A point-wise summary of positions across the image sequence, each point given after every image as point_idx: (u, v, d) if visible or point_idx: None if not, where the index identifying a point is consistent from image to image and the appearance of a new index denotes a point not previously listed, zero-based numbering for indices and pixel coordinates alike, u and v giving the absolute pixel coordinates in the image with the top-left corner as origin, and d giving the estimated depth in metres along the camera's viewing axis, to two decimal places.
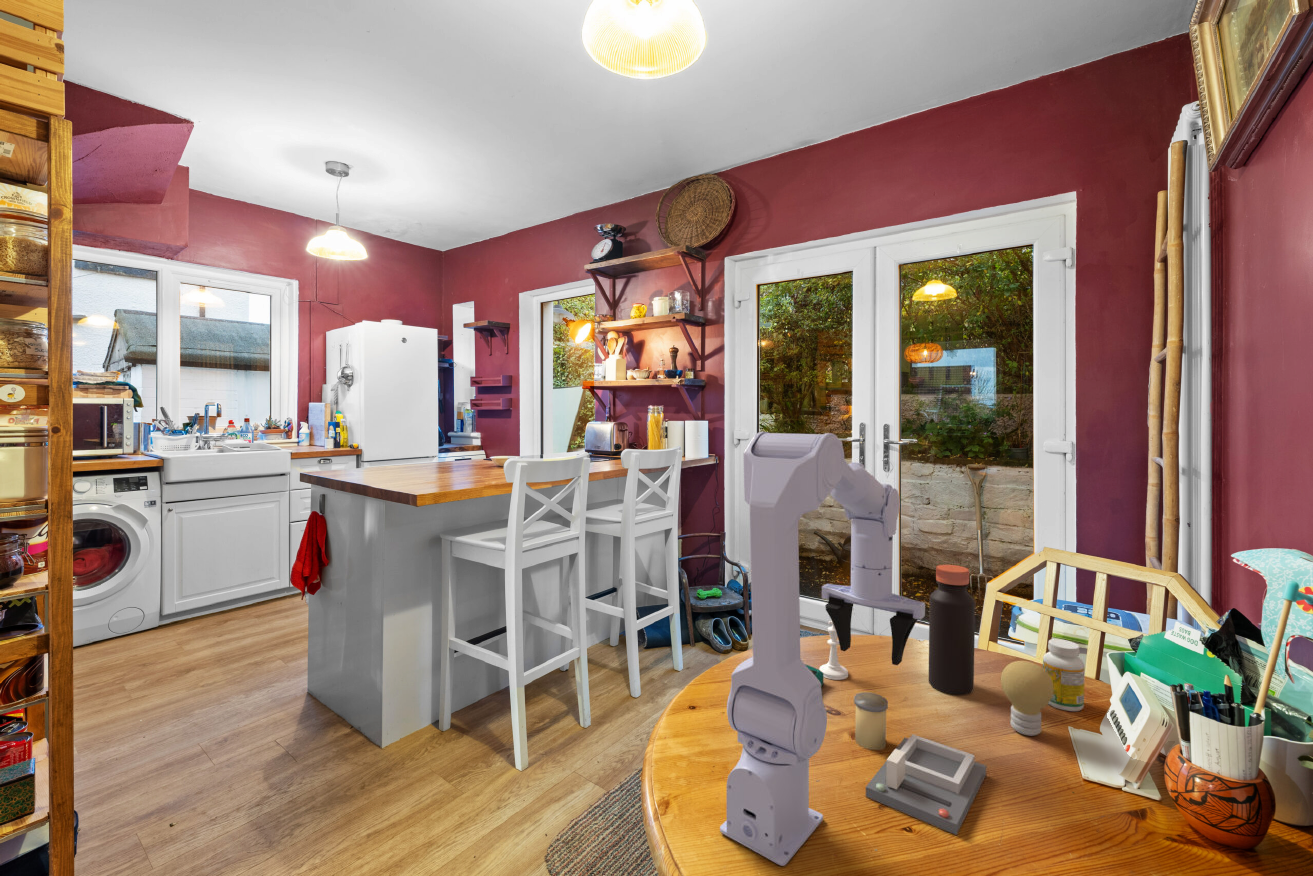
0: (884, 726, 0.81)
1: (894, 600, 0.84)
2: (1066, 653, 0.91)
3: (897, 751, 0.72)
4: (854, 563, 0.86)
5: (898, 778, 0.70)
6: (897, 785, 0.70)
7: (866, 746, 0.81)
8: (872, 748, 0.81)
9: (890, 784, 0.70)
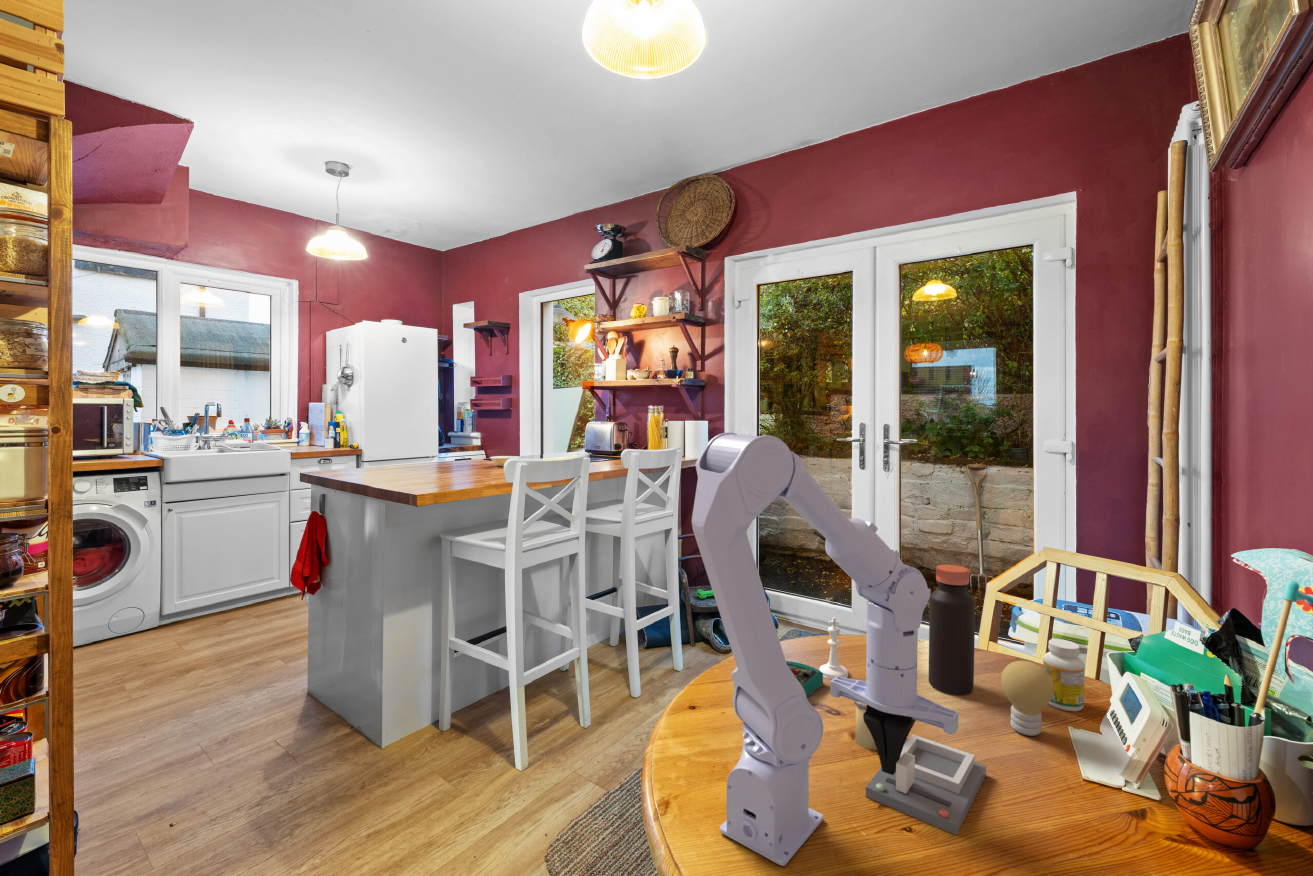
0: None
1: (920, 706, 0.69)
2: (1066, 653, 0.91)
3: (907, 754, 0.72)
4: (866, 654, 0.72)
5: (908, 782, 0.70)
6: (906, 789, 0.69)
7: (866, 746, 0.81)
8: (872, 748, 0.81)
9: (899, 788, 0.70)
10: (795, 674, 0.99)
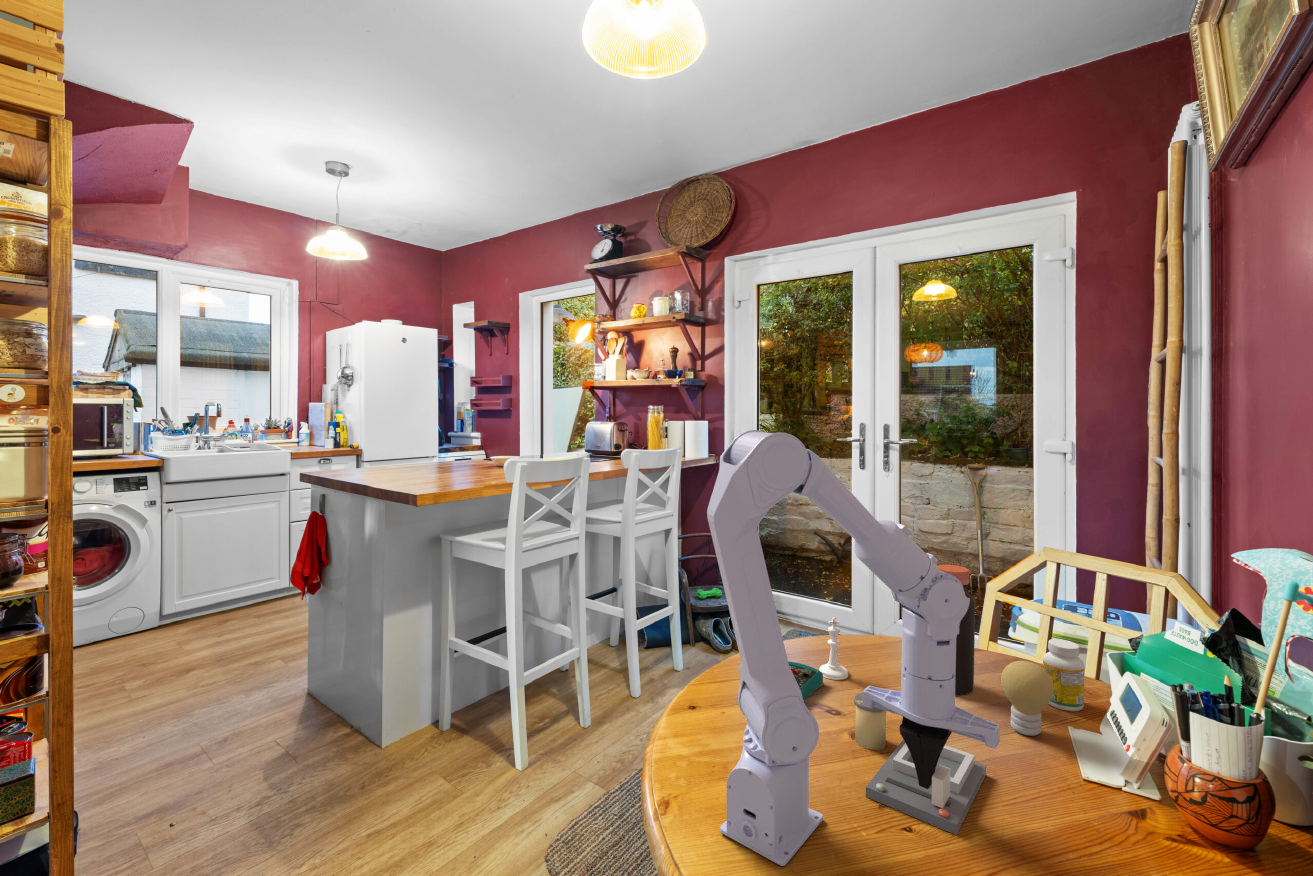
0: (884, 726, 0.81)
1: (959, 718, 0.66)
2: (1066, 653, 0.91)
3: (942, 767, 0.69)
4: None
5: (944, 796, 0.67)
6: (943, 803, 0.67)
7: (866, 746, 0.81)
8: (872, 748, 0.81)
9: (935, 802, 0.67)
10: (795, 674, 0.99)
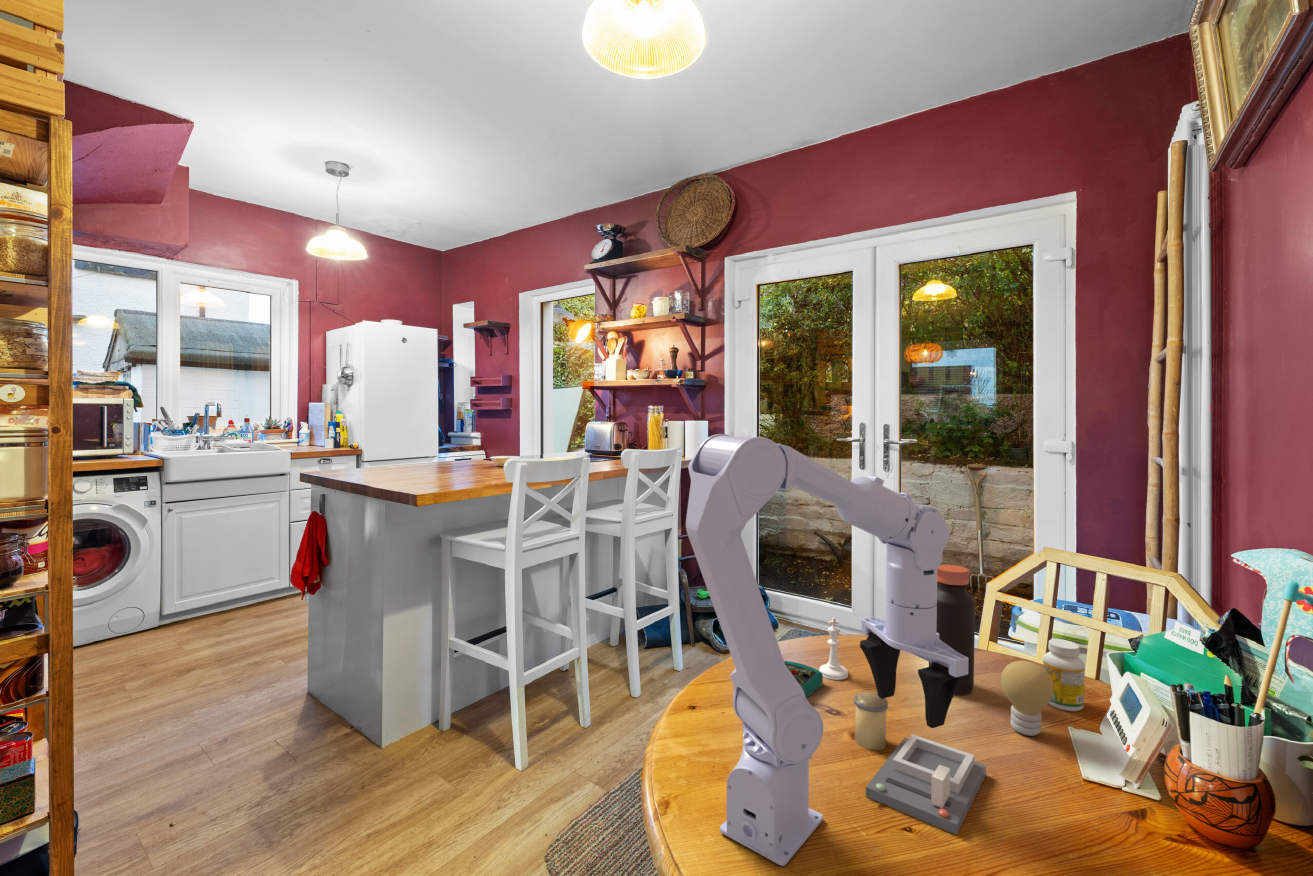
0: (884, 726, 0.81)
1: (932, 648, 0.69)
2: (1066, 653, 0.91)
3: (941, 767, 0.69)
4: (886, 596, 0.73)
5: (944, 796, 0.67)
6: (942, 803, 0.67)
7: (866, 746, 0.81)
8: (872, 748, 0.81)
9: (935, 802, 0.67)
10: (795, 674, 0.99)
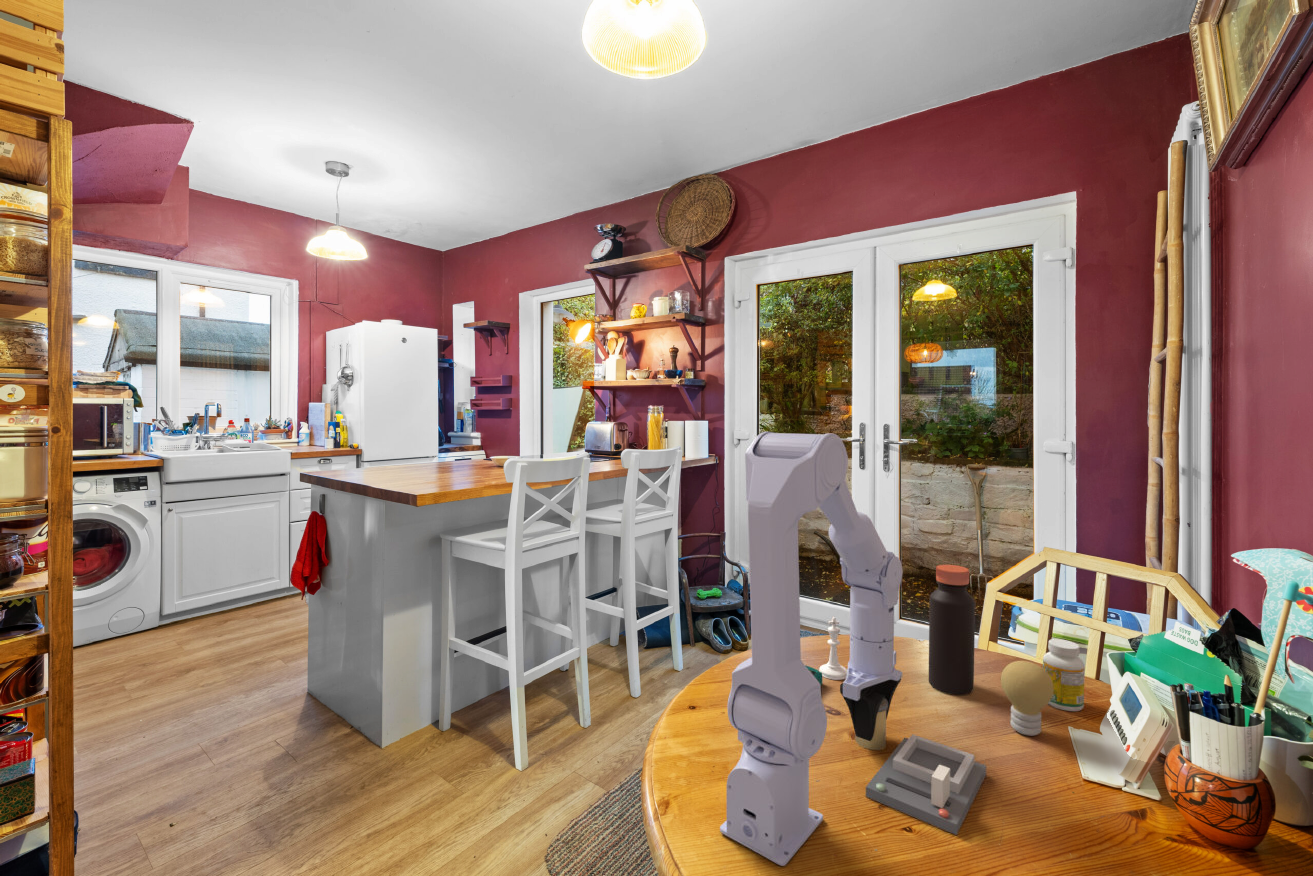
0: (884, 726, 0.81)
1: (860, 675, 0.80)
2: (1066, 653, 0.91)
3: (941, 767, 0.69)
4: (852, 633, 0.81)
5: (944, 796, 0.67)
6: (942, 803, 0.67)
7: (866, 746, 0.81)
8: (872, 748, 0.81)
9: (935, 802, 0.67)
10: None
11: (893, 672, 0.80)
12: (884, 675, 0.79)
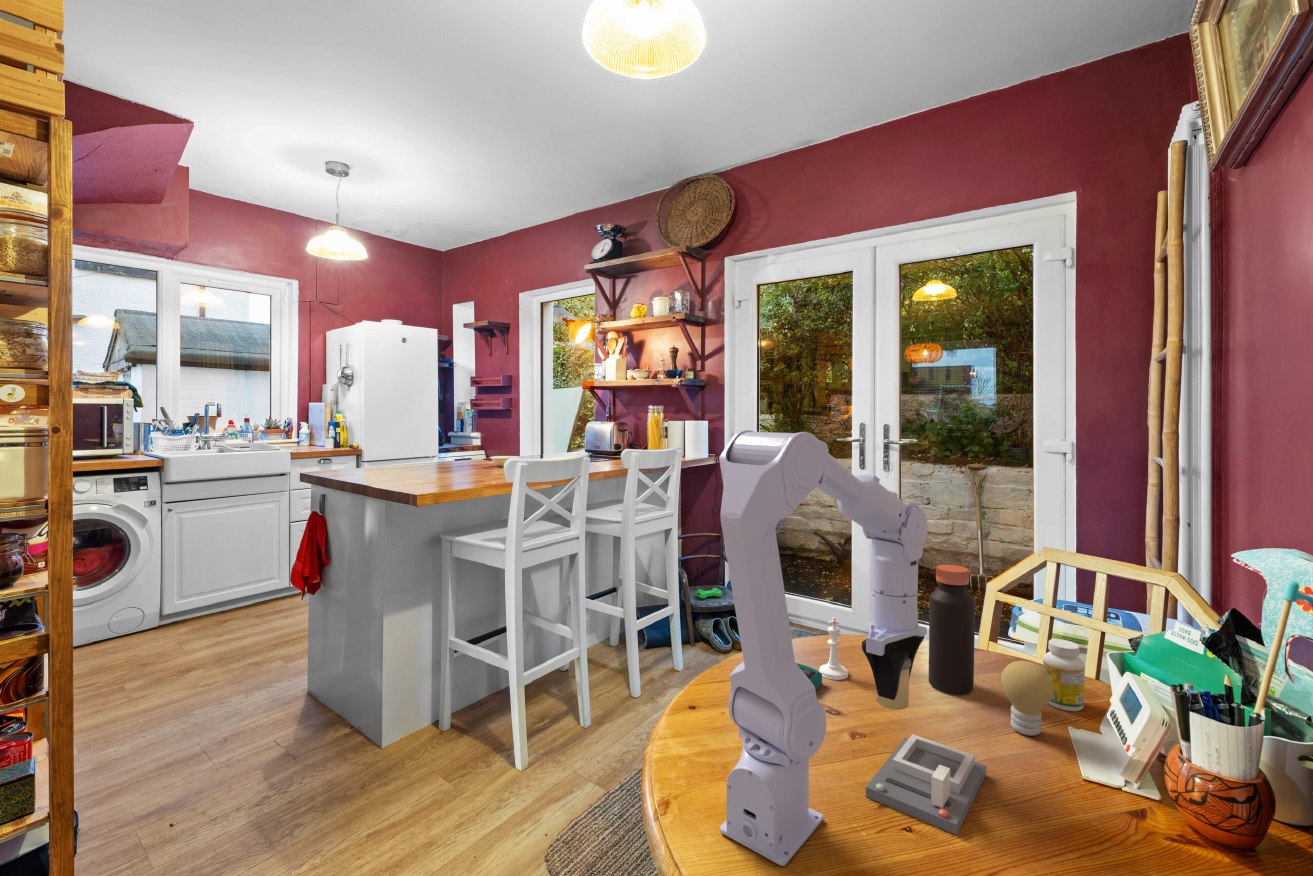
0: (907, 685, 0.78)
1: (883, 631, 0.76)
2: (1066, 653, 0.91)
3: (941, 767, 0.69)
4: (873, 587, 0.79)
5: (944, 796, 0.67)
6: (942, 803, 0.67)
7: (889, 705, 0.78)
8: (895, 708, 0.78)
9: (935, 802, 0.67)
10: None
11: (917, 628, 0.77)
12: (908, 631, 0.76)
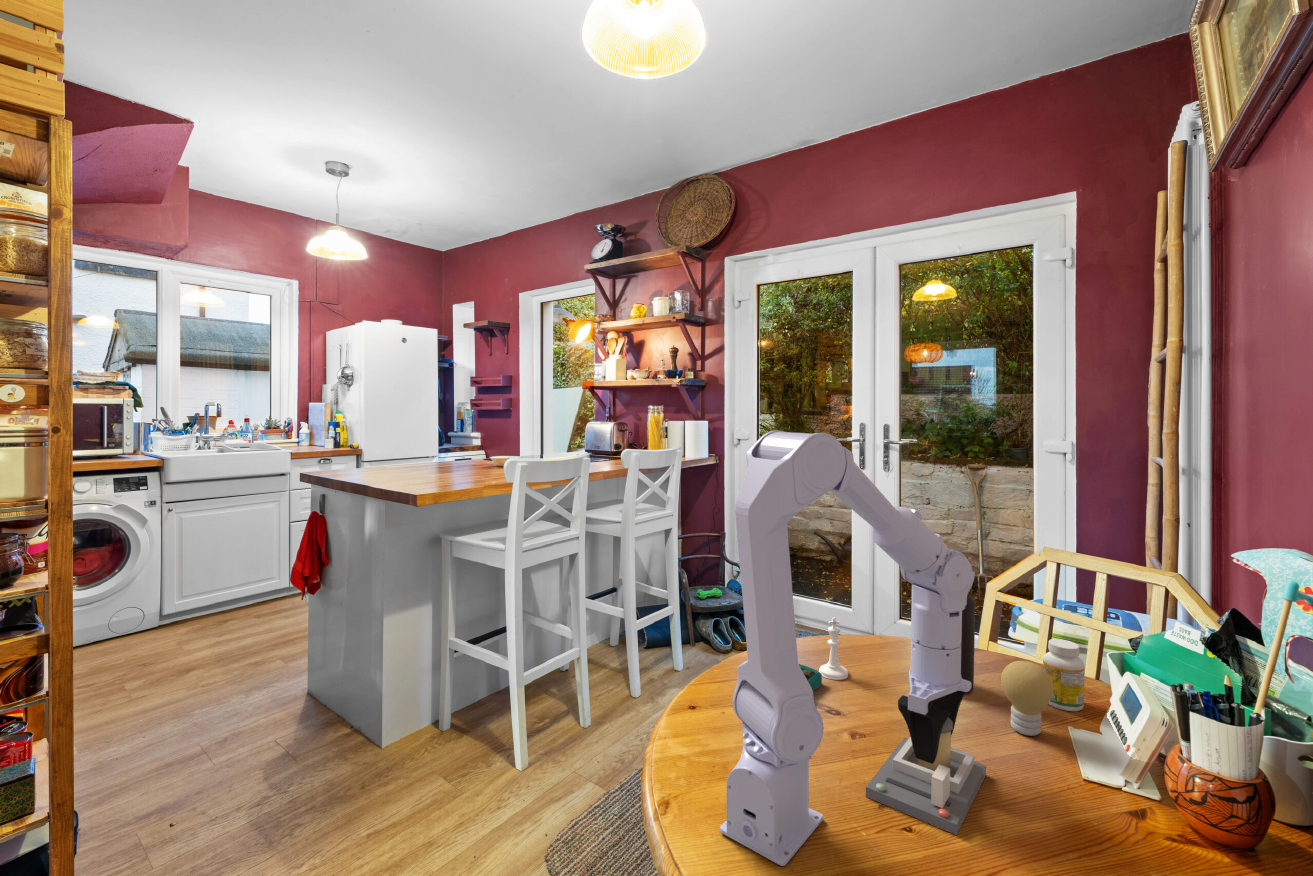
0: (949, 749, 0.73)
1: (925, 685, 0.72)
2: (1066, 653, 0.91)
3: (941, 767, 0.69)
4: (911, 636, 0.75)
5: (944, 796, 0.67)
6: (942, 803, 0.67)
7: None
8: None
9: (935, 802, 0.67)
10: None
11: (961, 682, 0.72)
12: (952, 686, 0.71)
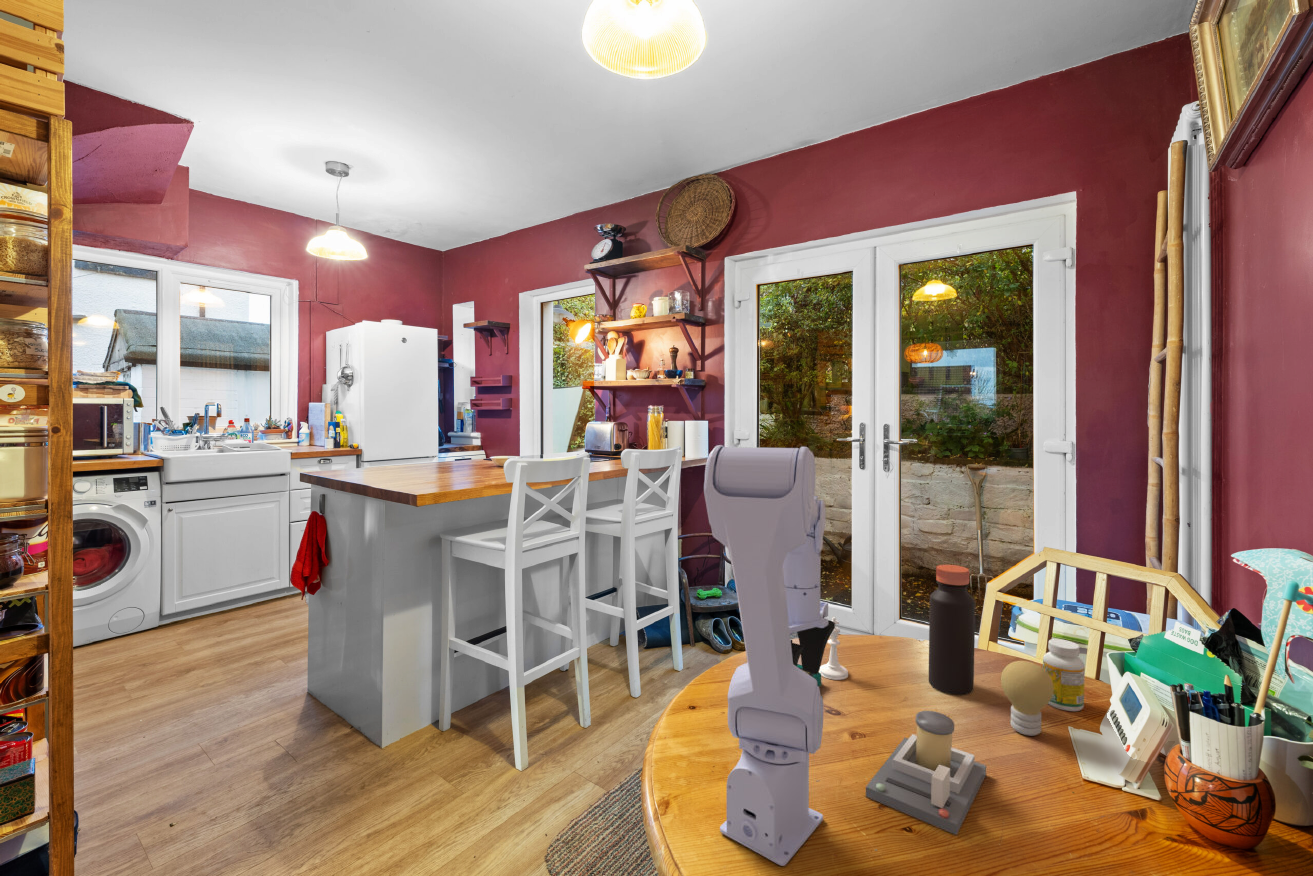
0: (949, 750, 0.73)
1: None
2: (1066, 653, 0.91)
3: (941, 767, 0.69)
4: None
5: (944, 796, 0.67)
6: (942, 803, 0.67)
7: None
8: None
9: (935, 802, 0.67)
10: None
11: (819, 620, 0.78)
12: (809, 622, 0.77)
